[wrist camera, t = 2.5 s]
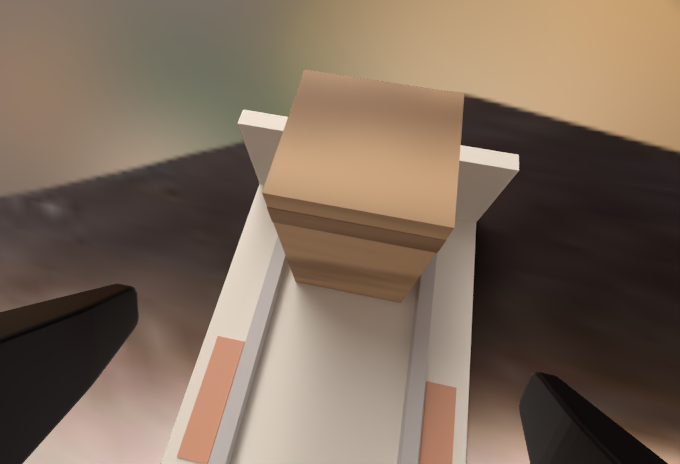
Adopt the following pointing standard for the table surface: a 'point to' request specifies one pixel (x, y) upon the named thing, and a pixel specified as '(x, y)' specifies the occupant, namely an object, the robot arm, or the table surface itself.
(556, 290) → the table surface
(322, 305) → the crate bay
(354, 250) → the tan wooden block
